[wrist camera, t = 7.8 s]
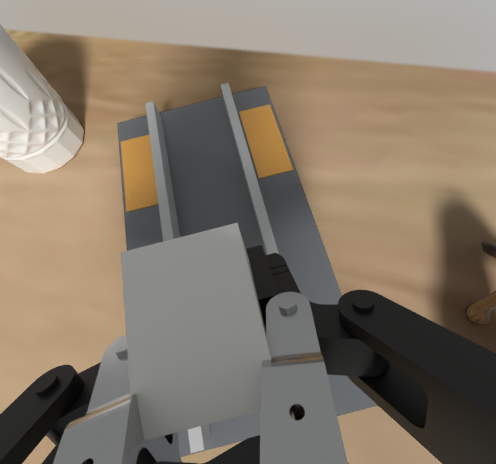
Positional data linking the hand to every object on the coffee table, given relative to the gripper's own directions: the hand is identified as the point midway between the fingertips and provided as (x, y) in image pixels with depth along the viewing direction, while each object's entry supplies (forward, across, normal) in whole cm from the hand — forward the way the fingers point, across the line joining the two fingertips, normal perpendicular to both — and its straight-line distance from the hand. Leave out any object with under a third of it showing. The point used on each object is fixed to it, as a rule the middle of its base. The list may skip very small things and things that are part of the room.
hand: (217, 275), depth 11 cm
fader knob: (+1, 0, +4) cm, 4 cm away
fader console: (+8, 0, +2) cm, 8 cm away
